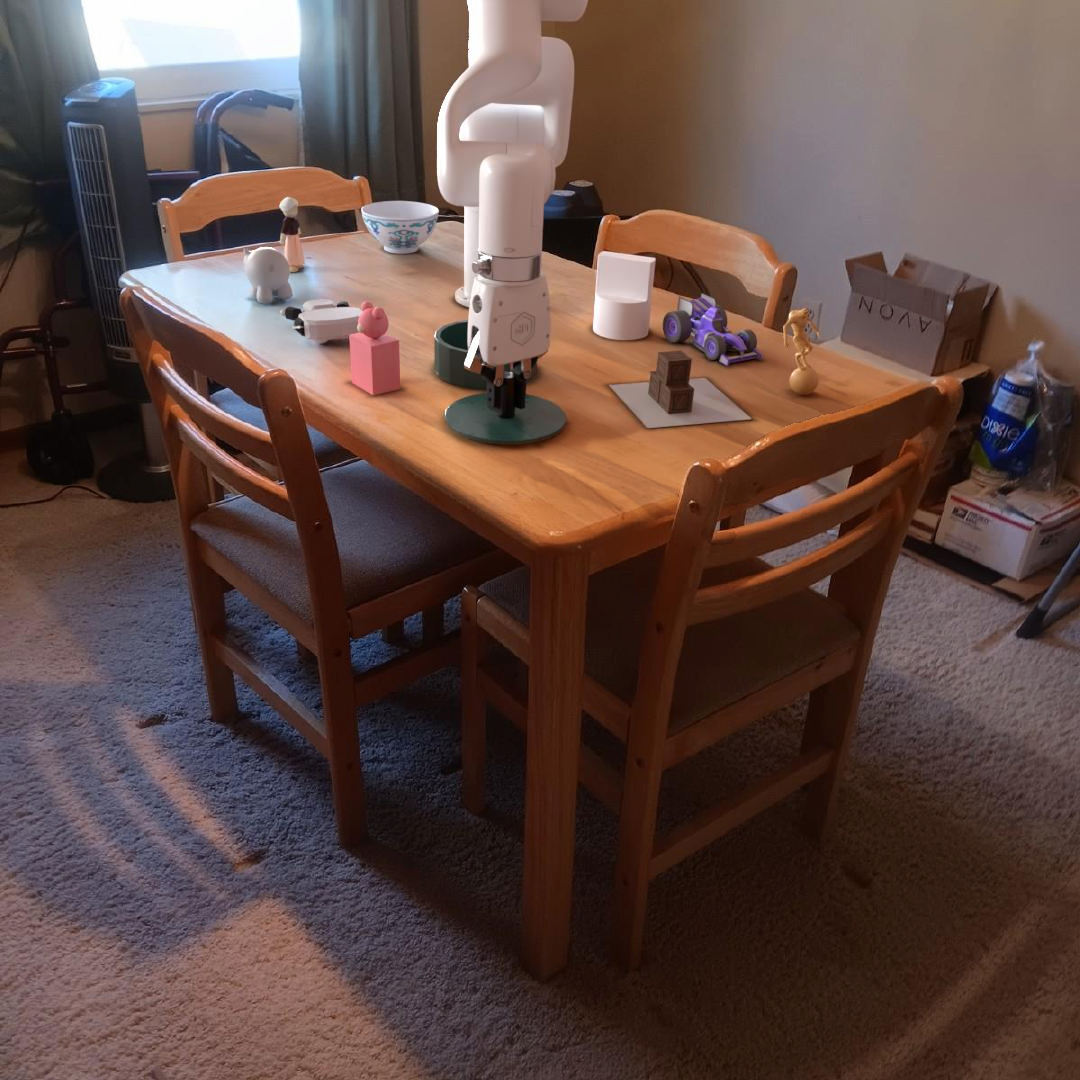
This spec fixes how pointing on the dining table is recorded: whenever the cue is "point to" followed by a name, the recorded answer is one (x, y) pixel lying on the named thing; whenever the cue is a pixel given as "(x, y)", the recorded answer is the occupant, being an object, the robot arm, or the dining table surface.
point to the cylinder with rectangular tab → (623, 295)
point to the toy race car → (709, 330)
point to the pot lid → (505, 418)
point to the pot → (459, 357)
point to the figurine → (801, 353)
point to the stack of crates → (677, 396)
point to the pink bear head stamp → (374, 353)
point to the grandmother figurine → (291, 234)
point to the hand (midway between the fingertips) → (505, 407)
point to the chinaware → (400, 224)
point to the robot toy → (324, 320)
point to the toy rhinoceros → (267, 274)
